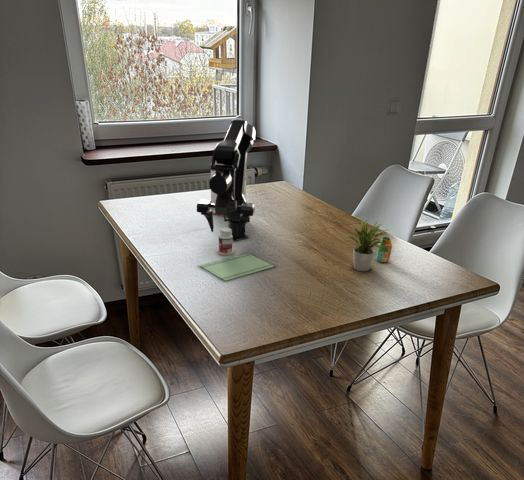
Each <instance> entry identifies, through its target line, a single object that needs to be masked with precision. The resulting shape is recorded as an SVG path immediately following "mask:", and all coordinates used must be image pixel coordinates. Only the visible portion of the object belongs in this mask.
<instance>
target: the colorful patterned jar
mask: <svg viewBox="0 0 524 480" xmlns="http://www.w3.org/2000/svg"><path fill="white" fill-rule="evenodd" d="M382 239H385V240H382ZM380 240H382V241H381V242H383V243H378V244H377V245H379V247H380V249H379V248H378V247H377V250H376V260H377V261H378V262H379V263H387V262H389V260H390V258H391V255H392V249H393V243H392V238H391V237H389V236H382V237H381V239H380Z"/></svg>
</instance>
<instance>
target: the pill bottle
mask: <svg viewBox="0 0 524 480" xmlns="http://www.w3.org/2000/svg"><path fill="white" fill-rule="evenodd" d="M231 234H232V230H231V229H230V228H228V227H222V228H220V229H219V235H218V253H219V255H221V256H230V255H232V254H233V246H234V245H233V243H234V242H233V241H234V240H233V236H232V235H231Z"/></svg>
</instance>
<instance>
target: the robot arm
mask: <svg viewBox="0 0 524 480" xmlns="http://www.w3.org/2000/svg"><path fill="white" fill-rule="evenodd" d="M254 141H256V129H255V126H253V125H251V123H248V121H247V120H244V119H231V120H230V124H229V129H228V130H227V133H226V135H225V137H224V139H223V140H221V141H219V142H217V144H216V145H215V148H213V151H212V157H211V162H212V163H211V162H210V171H211V170H216V171H215V175H214V176H213V177H212V178H211V177H210V179H209V182H208V185H209V186H208V187H209V189H210V192H211V191H212V192H213V193H215V194H217V197H216V202H215V204H211V199H200V200H199V201H198V202H197V204H196V212H197V213H200V215H201V216H204V217H205V219H206V221H207V224H208V225H209V228H210V231H211V233H214V229H215V227H214V226H215V225H214V215H215V214H216V216H220V215H224V216H223V221H224V222H226V223H227V222H228V223H227V225H228V227H227V228H230V229H231V230H232V234H231V235H232V236H233V241H234V242H235V241H239V240H244V239H247V238H249V236H248V235H247V234H246V224H248V223H250V222H251V217H253V216H254V215H255V214H254V213H255V211H256V210H255V209H256V205H255V204H254V203H253V202H247V199H246V200H245V197H244V195H243V194H244V184H245V174H246V175H247V170H246V166H247V161H248V153H249V152H250V150H251V149H252V148H253V146H254ZM215 163H216V164H215ZM219 164H223V165H219ZM212 210H215V214H213V212H212Z"/></svg>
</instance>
